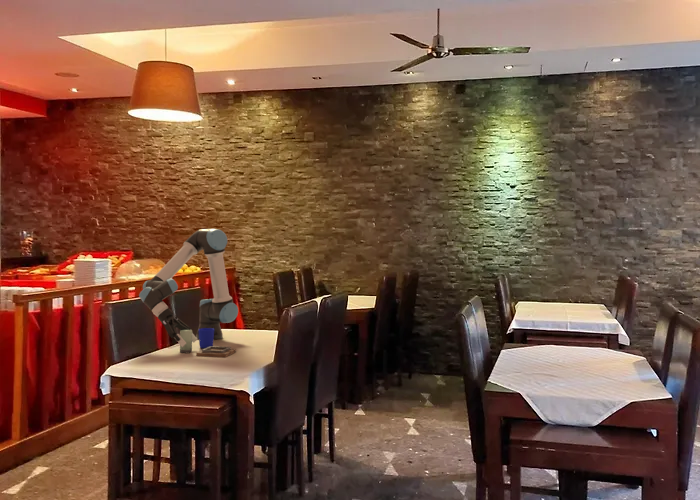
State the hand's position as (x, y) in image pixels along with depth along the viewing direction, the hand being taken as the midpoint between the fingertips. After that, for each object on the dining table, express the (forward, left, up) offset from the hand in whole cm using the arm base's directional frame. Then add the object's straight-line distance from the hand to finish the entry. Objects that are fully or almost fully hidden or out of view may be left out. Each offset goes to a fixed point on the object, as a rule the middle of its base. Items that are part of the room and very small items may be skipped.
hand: (190, 343), depth 311 cm
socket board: (+1, +15, -5) cm, 16 cm away
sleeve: (0, -2, -5) cm, 5 cm away
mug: (-16, +3, -5) cm, 17 cm away
